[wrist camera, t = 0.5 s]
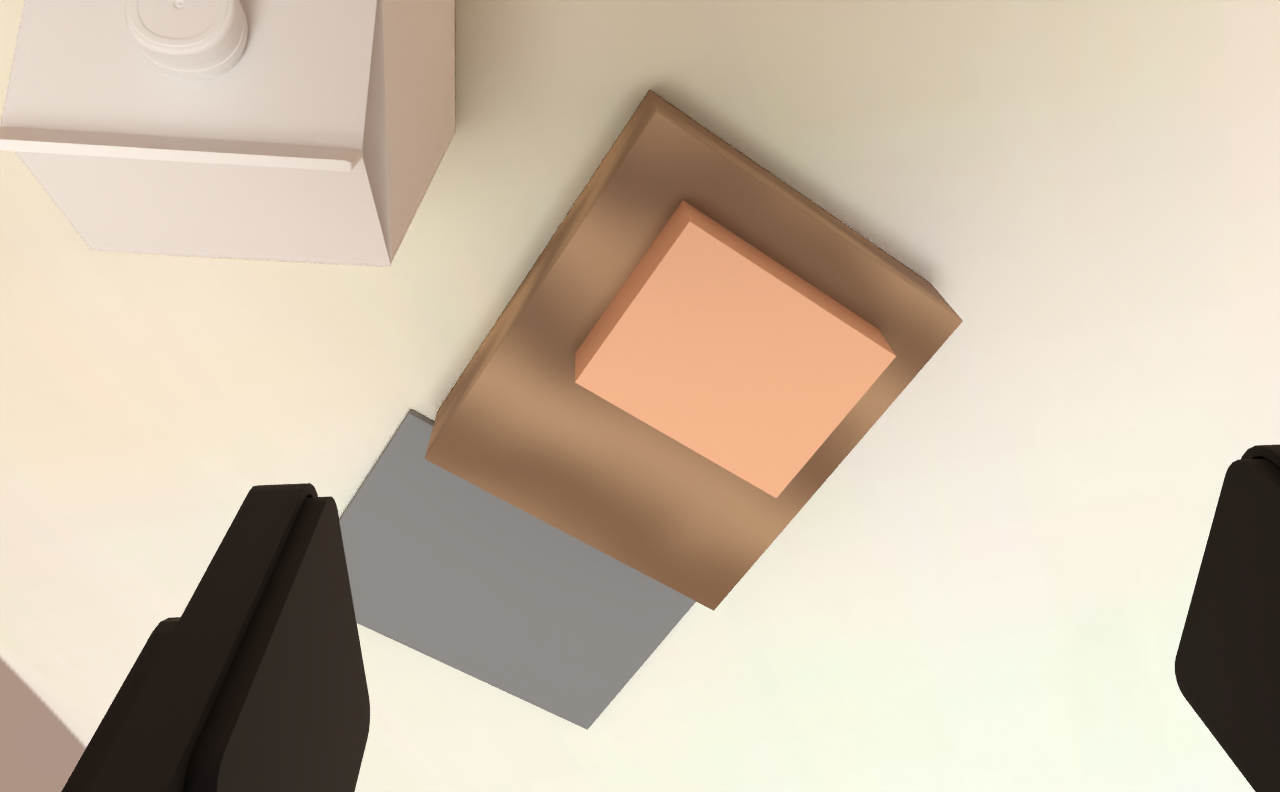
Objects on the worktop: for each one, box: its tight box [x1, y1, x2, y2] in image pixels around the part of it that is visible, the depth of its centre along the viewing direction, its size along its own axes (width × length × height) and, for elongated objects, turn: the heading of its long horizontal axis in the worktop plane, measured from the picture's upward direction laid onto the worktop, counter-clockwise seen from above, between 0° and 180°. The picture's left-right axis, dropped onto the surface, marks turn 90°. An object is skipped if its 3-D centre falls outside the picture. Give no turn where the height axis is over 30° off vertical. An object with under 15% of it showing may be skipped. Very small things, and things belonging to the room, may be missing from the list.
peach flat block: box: [575, 200, 896, 498], centre depth 38 cm, size 7×9×2 cm
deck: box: [425, 90, 962, 610], centre depth 42 cm, size 16×14×4 cm
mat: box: [339, 409, 696, 730], centre depth 48 cm, size 11×16×1 cm
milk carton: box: [0, 0, 455, 266], centre depth 29 cm, size 7×7×19 cm
